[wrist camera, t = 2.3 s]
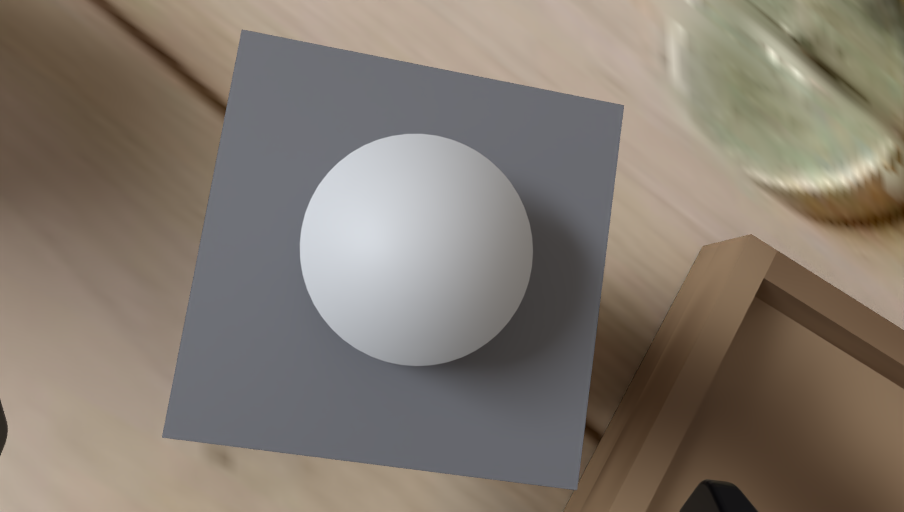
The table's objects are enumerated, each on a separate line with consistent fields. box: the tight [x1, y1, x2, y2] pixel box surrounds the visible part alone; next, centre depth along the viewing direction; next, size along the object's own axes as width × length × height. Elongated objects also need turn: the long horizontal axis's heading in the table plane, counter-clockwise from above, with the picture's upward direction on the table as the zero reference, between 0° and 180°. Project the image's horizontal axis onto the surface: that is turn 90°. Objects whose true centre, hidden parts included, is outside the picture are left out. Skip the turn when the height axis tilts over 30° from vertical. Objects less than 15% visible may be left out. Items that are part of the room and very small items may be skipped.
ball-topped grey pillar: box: [162, 30, 624, 490], centre depth 12 cm, size 4×4×13 cm
